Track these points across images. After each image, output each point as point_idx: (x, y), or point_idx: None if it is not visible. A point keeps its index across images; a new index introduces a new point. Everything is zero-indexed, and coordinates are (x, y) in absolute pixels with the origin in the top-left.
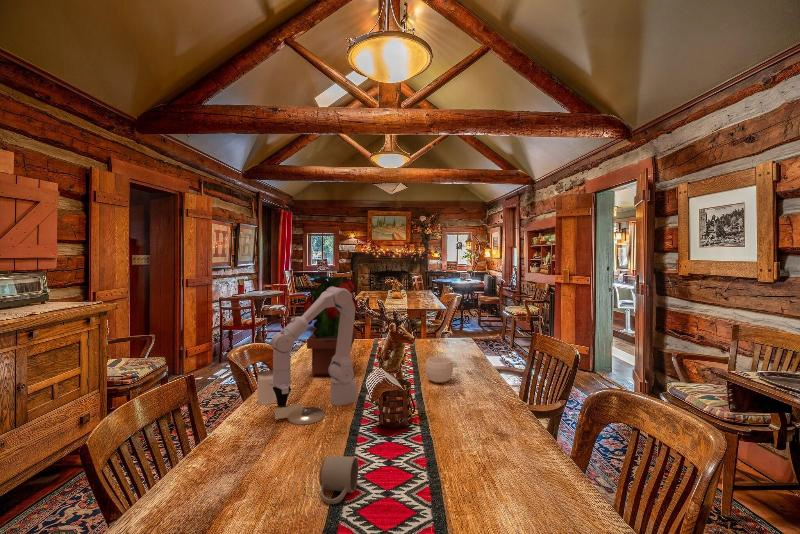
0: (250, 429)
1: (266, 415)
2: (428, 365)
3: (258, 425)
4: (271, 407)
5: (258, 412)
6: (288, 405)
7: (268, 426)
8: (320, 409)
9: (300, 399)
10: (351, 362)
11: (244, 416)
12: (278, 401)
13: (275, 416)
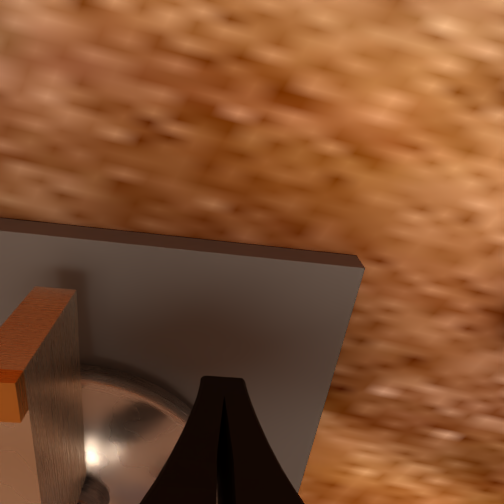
0: (98, 18)
1: (359, 246)
2: None
3: (167, 125)
4: (495, 318)
5: (475, 201)
6: (37, 493)
7: (101, 203)
8: None
9: (477, 493)
10: None
11: (483, 47)
12: (175, 449)
13: (20, 305)
